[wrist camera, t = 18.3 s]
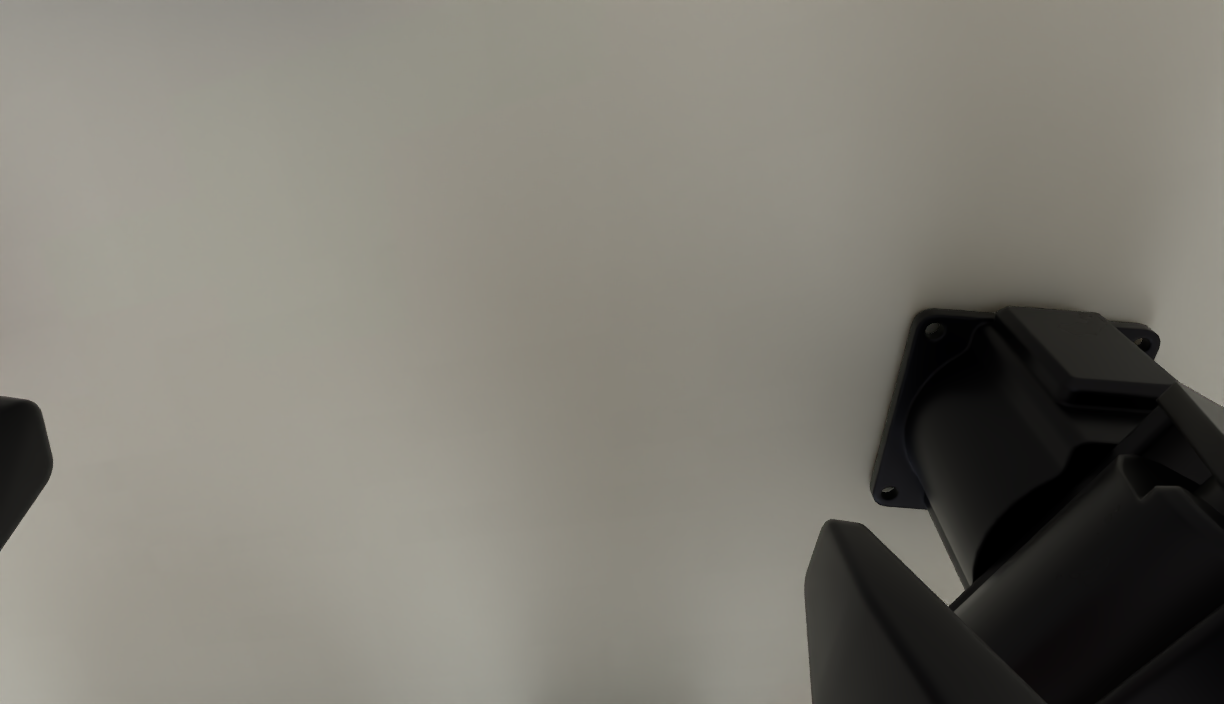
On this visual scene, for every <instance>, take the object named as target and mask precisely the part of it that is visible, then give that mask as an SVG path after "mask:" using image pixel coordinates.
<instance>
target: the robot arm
mask: <svg viewBox="0 0 1224 704" xmlns="http://www.w3.org/2000/svg"><path fill="white" fill-rule="evenodd" d="M932 323H939V324H940V326H939V327H938V329H937V330H936V331H935V332H933V333H925V330H926V328H927V326H929V325H930V324H932ZM1140 338H1142V341H1141V343H1140V344H1139V345H1138V346H1136V345H1135V344H1134V343H1133V342H1134V341H1136V340H1137V339H1140ZM1159 346H1160V338H1159V336H1158V335H1157V334H1156V333H1155V332H1154V331H1153V330H1151V329H1150V328H1149V327H1148V326H1146V325H1143V324H1140V323H1127V322H1113V321H1107V320H1106V319H1105V318H1104V317H1103V316H1101V315H1100V314H1099V313H1094V312H1081V311H1067V310H1053V309H1039V308H1026V307H1012V306H1007V307H1005V308H1003V309H1001V310H999V311H997V312H996V313H989V312H976V311H962V310H948V309H927V310H924V311H922V312H920V313H919V314H918V315H917V316H916V317H915V318H914V320H913V322H912V325H911V328H910V332H909V336H908V340H907V344H906V348H905V352H904V355H903V359H902V363H901V367H900V371H899V375H898V378H897V382H896V386H895V390H894V394H893V398H892V401H891V405H890V409H889V413H888V417H887V421H886V424H885V428H884V432H883V436H882V440H881V444H880V448H879V451H878V455H877V459H876V463H875V467H874V471H873V474H872V478H871V482H870V491H871V493H872V496H873V498H874V500H875V502H877V503H878V504H879V505H882V506H887V507H899V508H912V509H925V510H928V512H929V514H930V516H931V518H932V520H933V522H934V525H935V527H936V529H937V531H938V533H939V535H940V537H941V540H942V542H943V544H944V546H945V548H946V550H947V552H948V555H949V557H950V559H951V561H952V563H953V565H954V567H955V570H956V572H957V574H958V576H959V578H960V580H961V582H962V585H963V587H964V589H965V591H964V592H963V593H962V594H961V595H960V596H959V597H958V598H957V599H956V600H955V601H954V602H953V603H952V604H951V605H950V606H949V607H948V606H947V605H946V604H945V603H944V602H943V601H942V600H941V599H940V598H939V597H938V596H937V595H936V594H935V593H934V592H933V591H931V590H930V589H929V588H928V587H927V586H926V585H925V584H924V583H923V582H922V581H921V580H920V579H919V578H918V577H917V576H916V575H915V574H914V573H913V572H912V571H911V570H910V569H909V568H908V567H907V566H906V565H905V564H904V563H903V562H902V561H901V560H900V559H899V558H898V557H897V556H896V555H895V554H894V553H893V552H892V551H891V550H889V549H888V548H887V547H886V546H885V545H884V544H883V543H882V542H881V541H880V540H879V539H878V538H877V537H876V536H875V535H874V534H873V533H872V532H871V531H870V530H869V529H868V528H867V527H866V526H864V525H863V524H860V523H856V522H849V521H842V520H836V519H830V520H828V521H826V522H825V524H824V525H823V527H822V529H821V531H820V534H819V537H818V540H817V543H816V546H815V548H814V551H813V554H812V557H811V560H810V563H809V566H808V569H807V572H806V577H805V585H804V595H805V609H806V623H807V637H808V651H809V665H810V679H811V693H812V704H1224V407H1222V406H1220V405H1219V404H1217V403H1215V402H1213V401H1212V400H1210V399H1208V398H1206V397H1205V396H1203V395H1201V394H1199V393H1198V392H1196V391H1194V390H1192V389H1191V388H1189V387H1187V386H1185V385H1183V384H1182V383H1180V382H1179V381H1177V380H1176V379H1175V378H1174V377H1173V376H1172V375H1170V374H1169V373H1168V372H1167V371H1166V370H1165V369H1163V368H1162V367H1161V366H1160V365H1159V364H1158V363H1156V362H1155V361H1154V359H1155V356H1156V354H1157V352H1158V350H1159ZM52 469H53V457H52V453H51V448H50V444H49V440H48V436H47V432H46V428H45V423H44V419H43V415H42V412H41V409H40V408H39V407H38V405H37V404H36V403H34V402H32V401H30V400H25V399H19V398H12V397H5V396H0V551H1V549H2V548H3V546H4V545H5V543H6V542H7V540H8V539H9V538H10V536H11V535H12V533H13V532H14V530H15V529H16V527H17V526H18V524H19V523H20V522H21V520H22V519H23V517H24V516H25V514H26V513H27V511H28V510H29V508H30V507H31V506H32V504H33V503H34V501H35V500H36V498H37V497H38V495H39V494H40V493H41V491H42V490H43V488H44V487H45V485H46V484H47V482H48V480H49V478H50V476H51V473H52ZM886 487H894V488H893V489H892V490H891V491H889V492H883V491H882V490H883V489H885V488H886Z"/></svg>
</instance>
